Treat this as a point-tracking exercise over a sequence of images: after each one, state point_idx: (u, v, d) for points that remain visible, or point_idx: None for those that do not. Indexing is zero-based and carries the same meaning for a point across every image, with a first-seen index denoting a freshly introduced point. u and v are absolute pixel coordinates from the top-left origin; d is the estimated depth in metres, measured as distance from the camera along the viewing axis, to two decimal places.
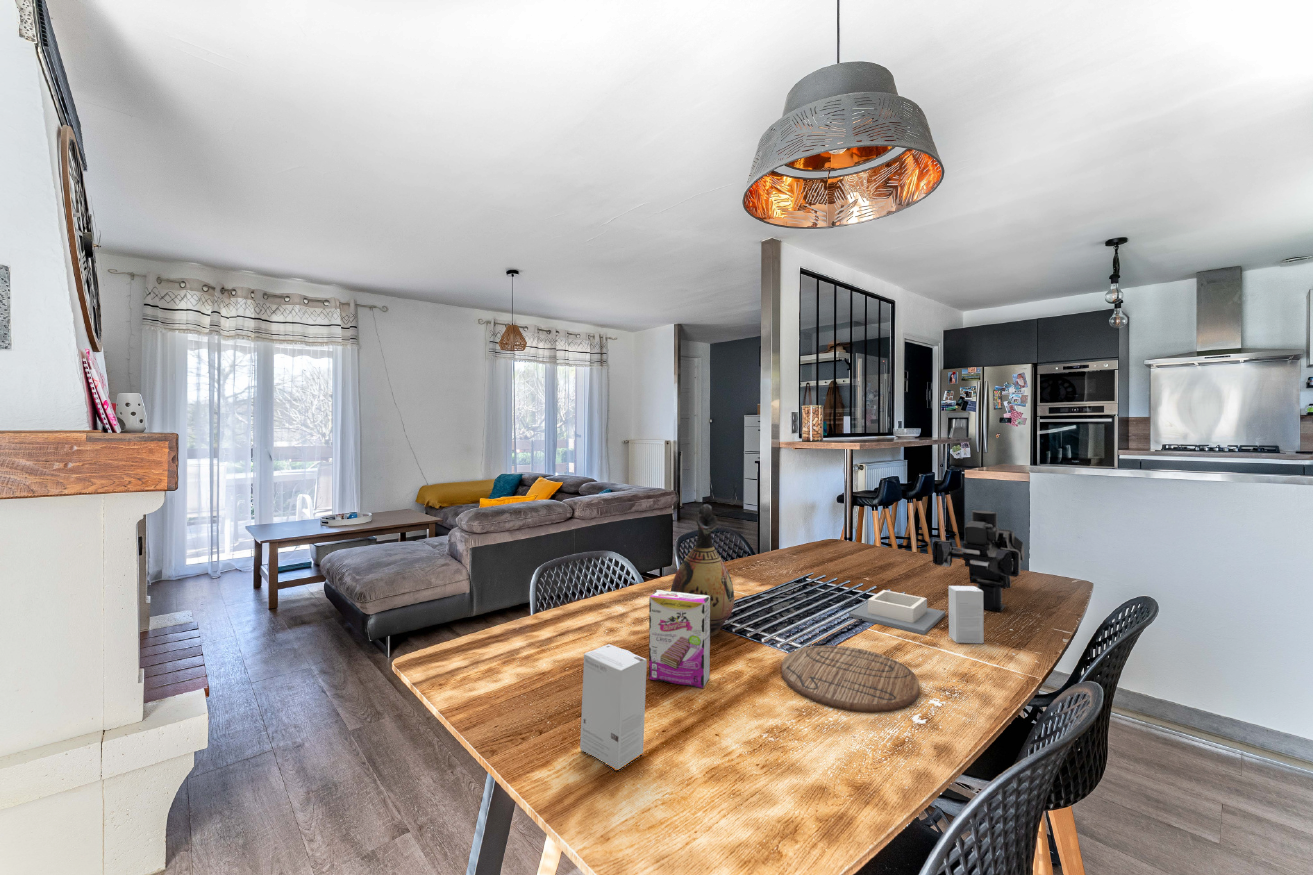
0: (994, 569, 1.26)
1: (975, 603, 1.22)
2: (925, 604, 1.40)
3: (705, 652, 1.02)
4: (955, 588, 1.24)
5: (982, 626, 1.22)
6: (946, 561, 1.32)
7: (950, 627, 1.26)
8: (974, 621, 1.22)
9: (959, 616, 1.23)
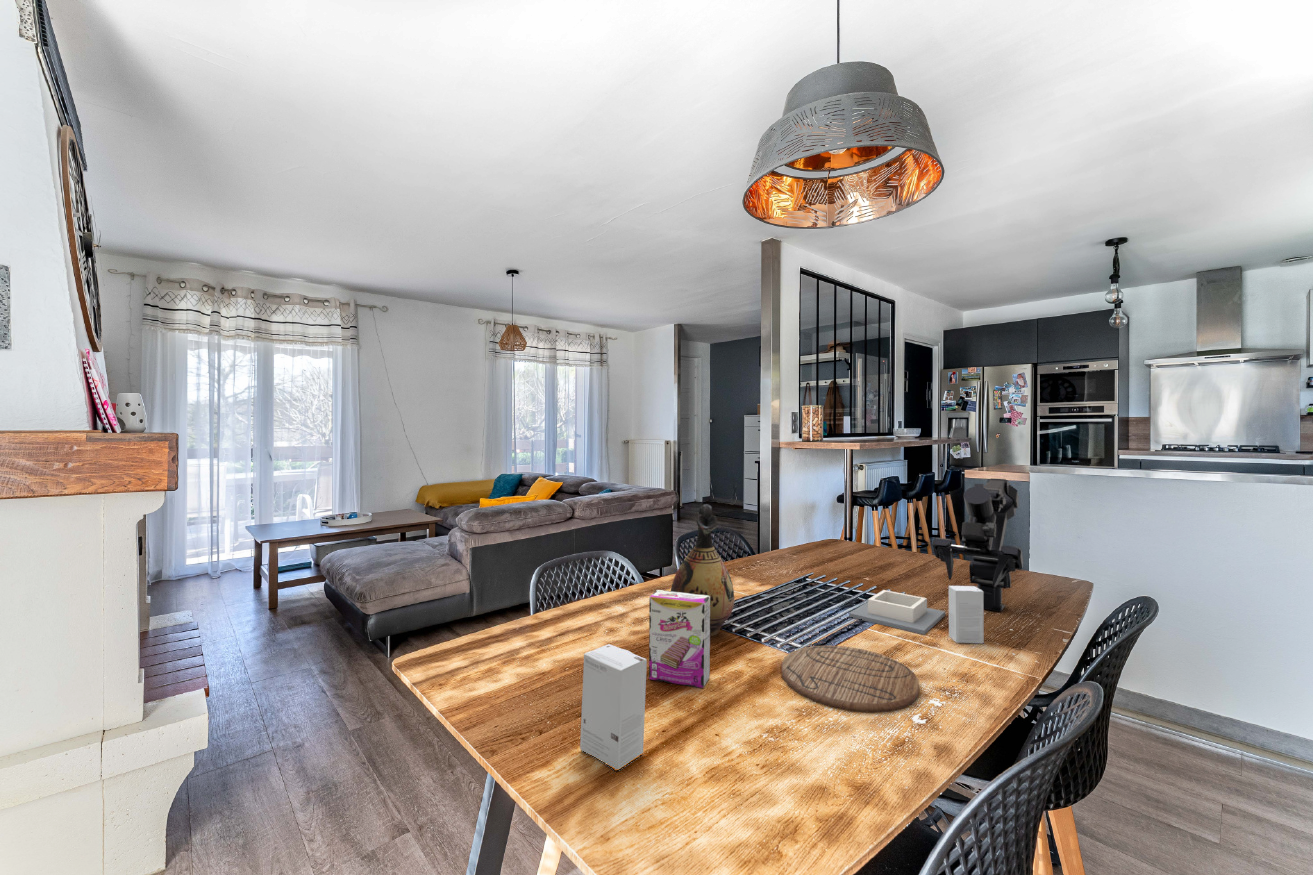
0: (999, 581, 1.27)
1: (975, 603, 1.22)
2: (925, 604, 1.40)
3: (705, 652, 1.02)
4: (955, 588, 1.24)
5: (982, 626, 1.22)
6: (951, 577, 1.32)
7: (950, 627, 1.26)
8: (974, 621, 1.22)
9: (959, 616, 1.23)
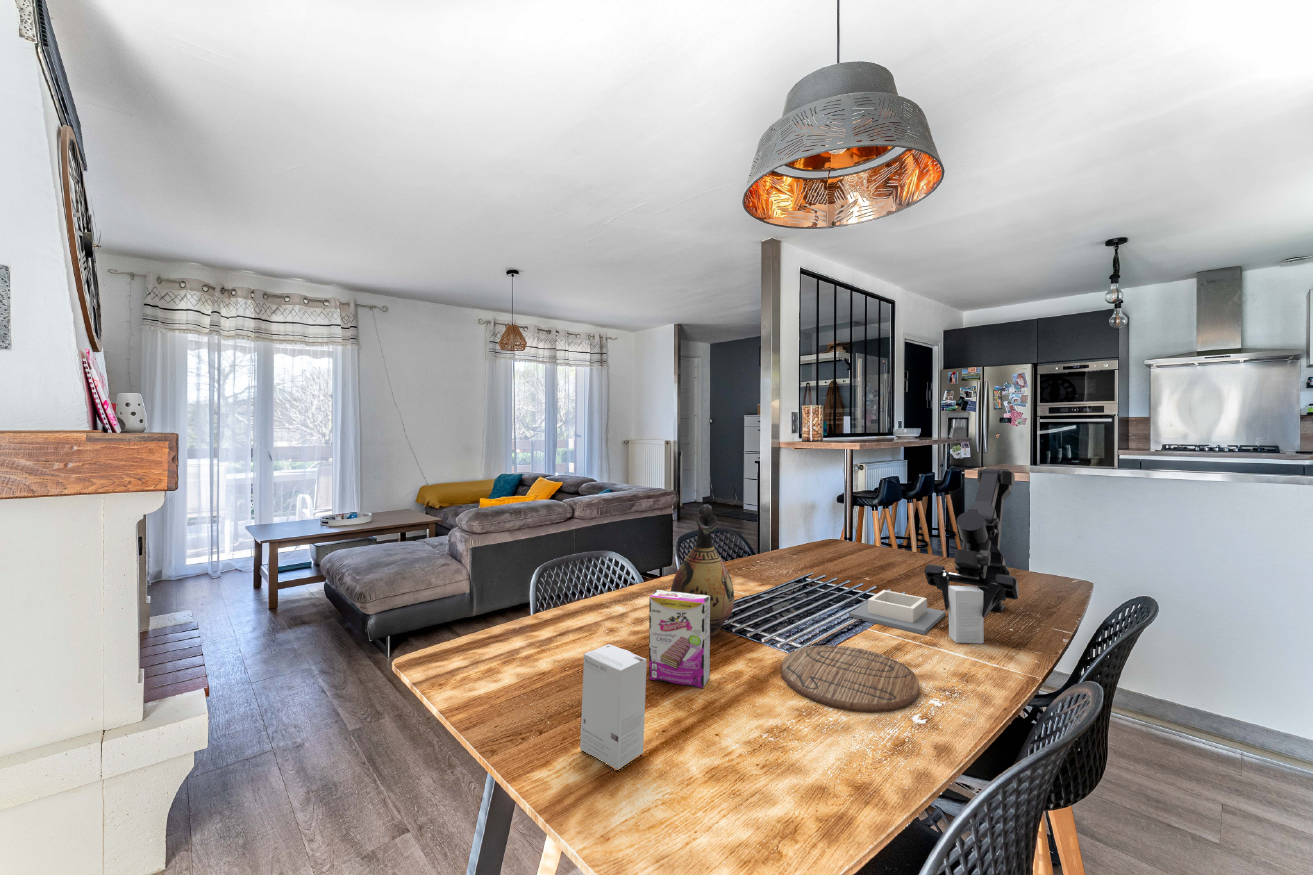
0: (989, 611, 1.22)
1: (975, 603, 1.22)
2: (925, 604, 1.40)
3: (705, 652, 1.02)
4: (955, 588, 1.24)
5: (982, 626, 1.22)
6: (947, 607, 1.26)
7: (950, 627, 1.26)
8: (974, 621, 1.22)
9: (959, 616, 1.23)
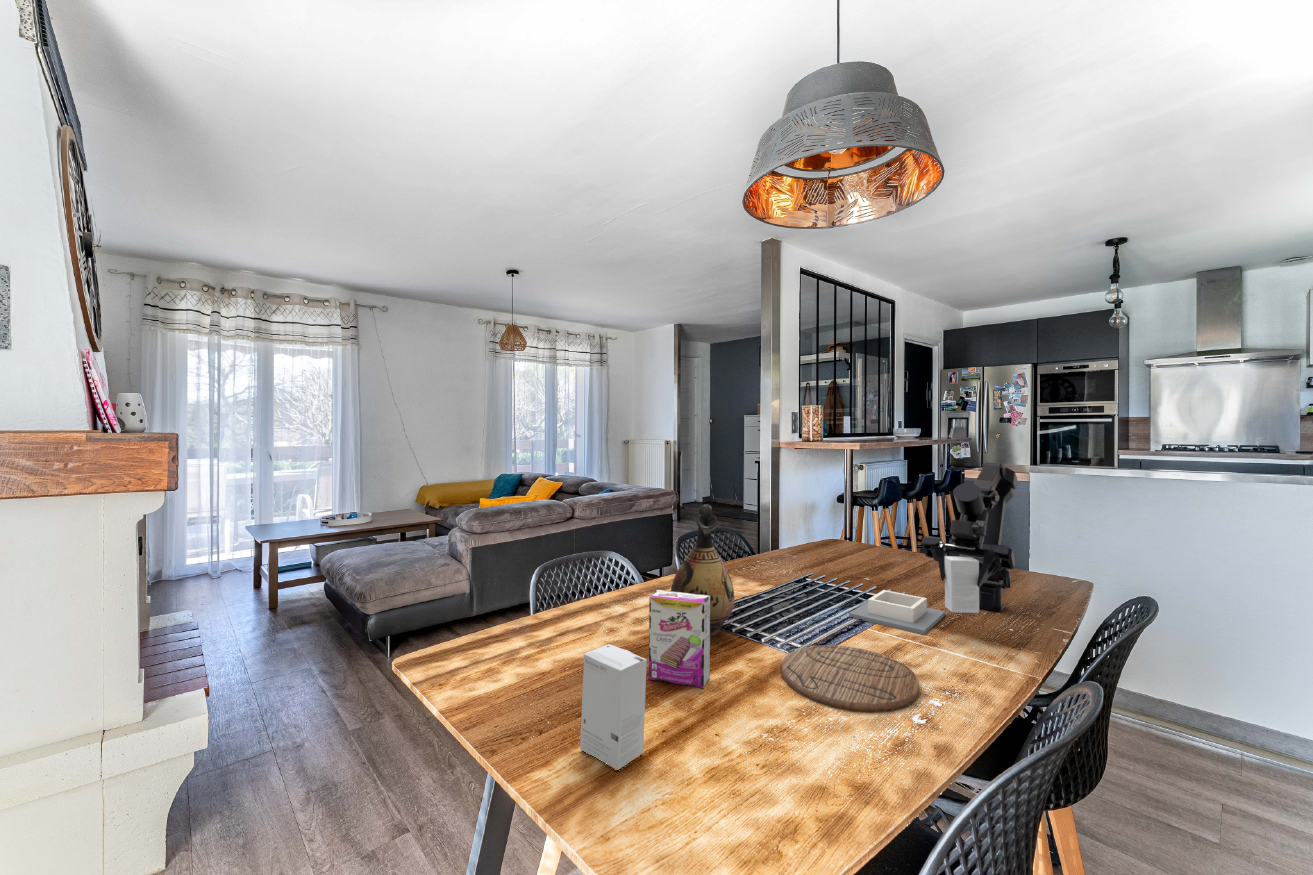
0: (984, 580, 1.23)
1: (971, 573, 1.23)
2: (925, 604, 1.40)
3: (705, 652, 1.02)
4: (951, 558, 1.25)
5: (977, 596, 1.23)
6: (943, 577, 1.27)
7: (946, 598, 1.27)
8: (970, 590, 1.23)
9: (955, 585, 1.23)
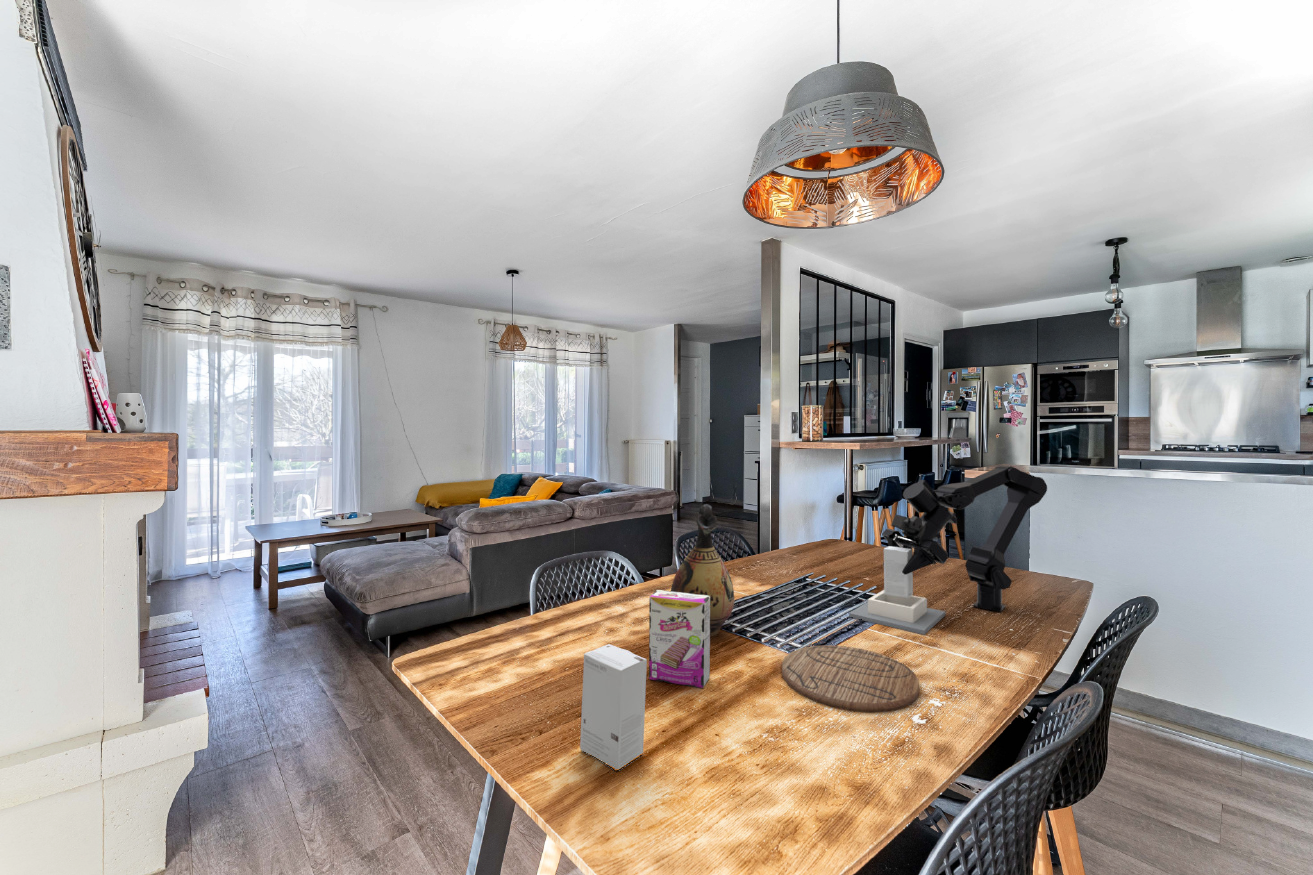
0: (912, 570, 1.36)
1: (900, 562, 1.38)
2: (925, 604, 1.40)
3: (705, 652, 1.02)
4: (888, 547, 1.42)
5: (906, 583, 1.37)
6: None
7: None
8: (900, 577, 1.38)
9: (886, 571, 1.40)
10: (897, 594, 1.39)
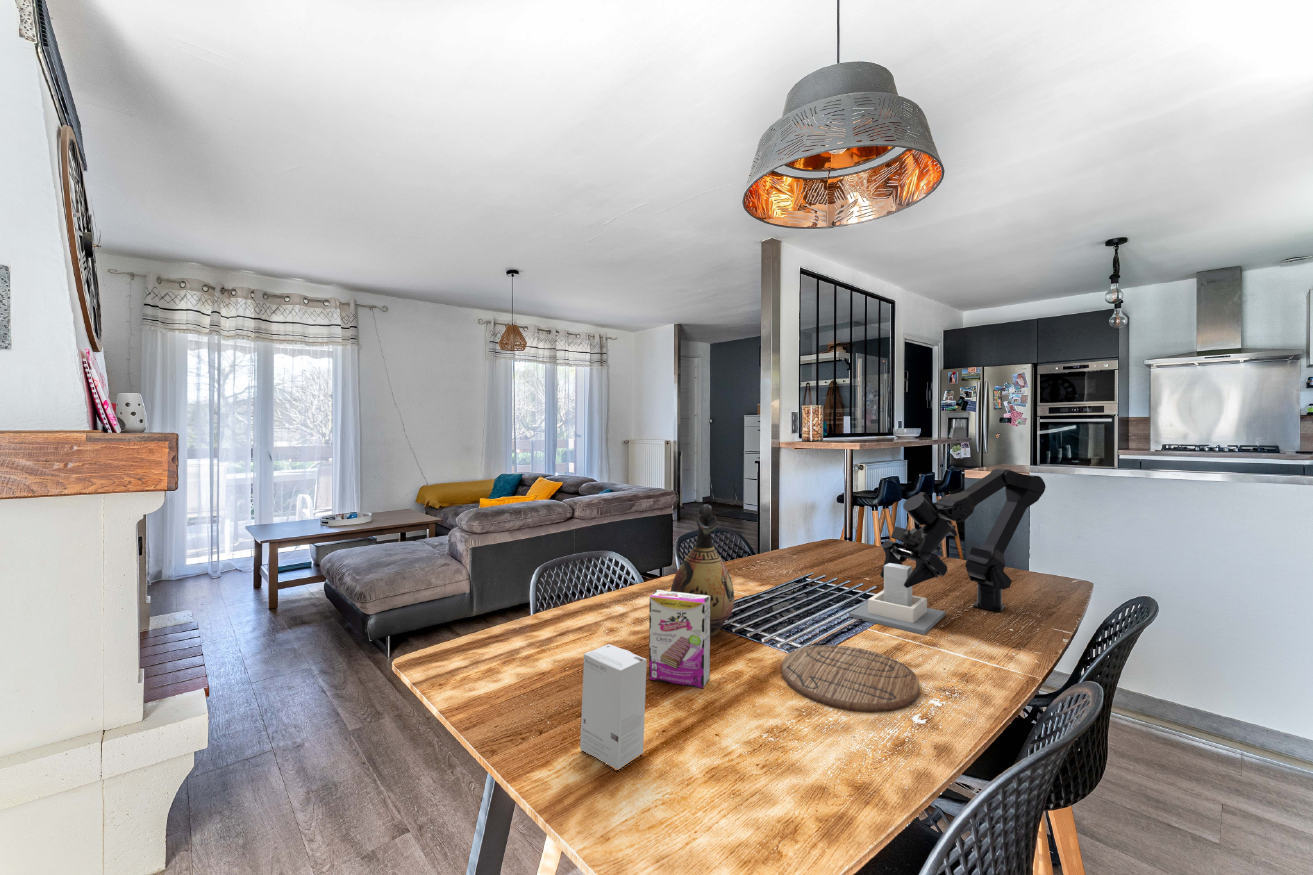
0: (914, 583, 1.35)
1: (900, 579, 1.38)
2: (925, 604, 1.40)
3: (705, 652, 1.02)
4: (888, 564, 1.42)
5: (906, 600, 1.37)
6: None
7: None
8: (899, 594, 1.38)
9: (886, 588, 1.41)
10: None
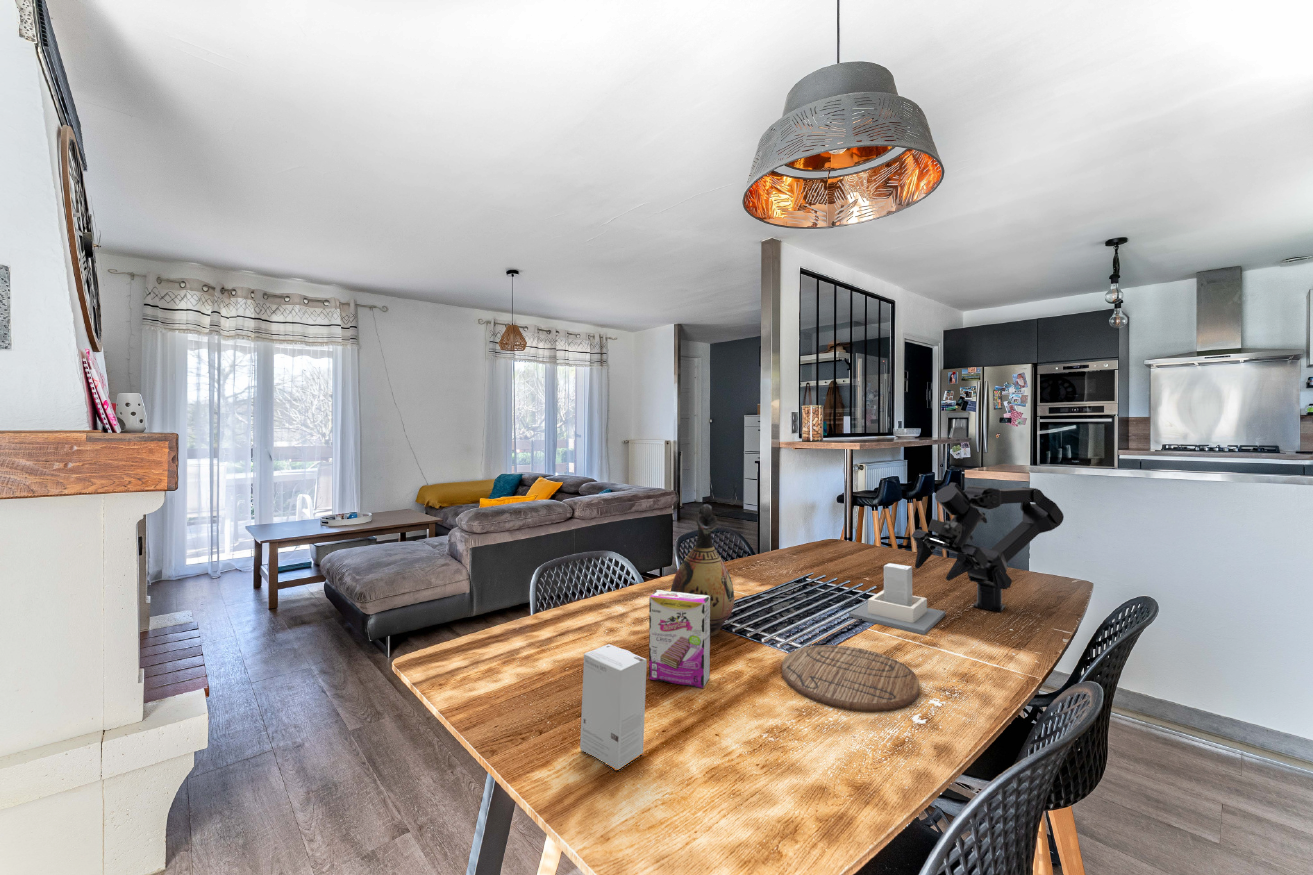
0: (955, 576, 1.37)
1: (900, 579, 1.38)
2: (925, 604, 1.40)
3: (705, 652, 1.02)
4: (887, 564, 1.42)
5: (906, 600, 1.37)
6: (918, 566, 1.45)
7: None
8: (899, 595, 1.38)
9: (886, 588, 1.40)
10: None
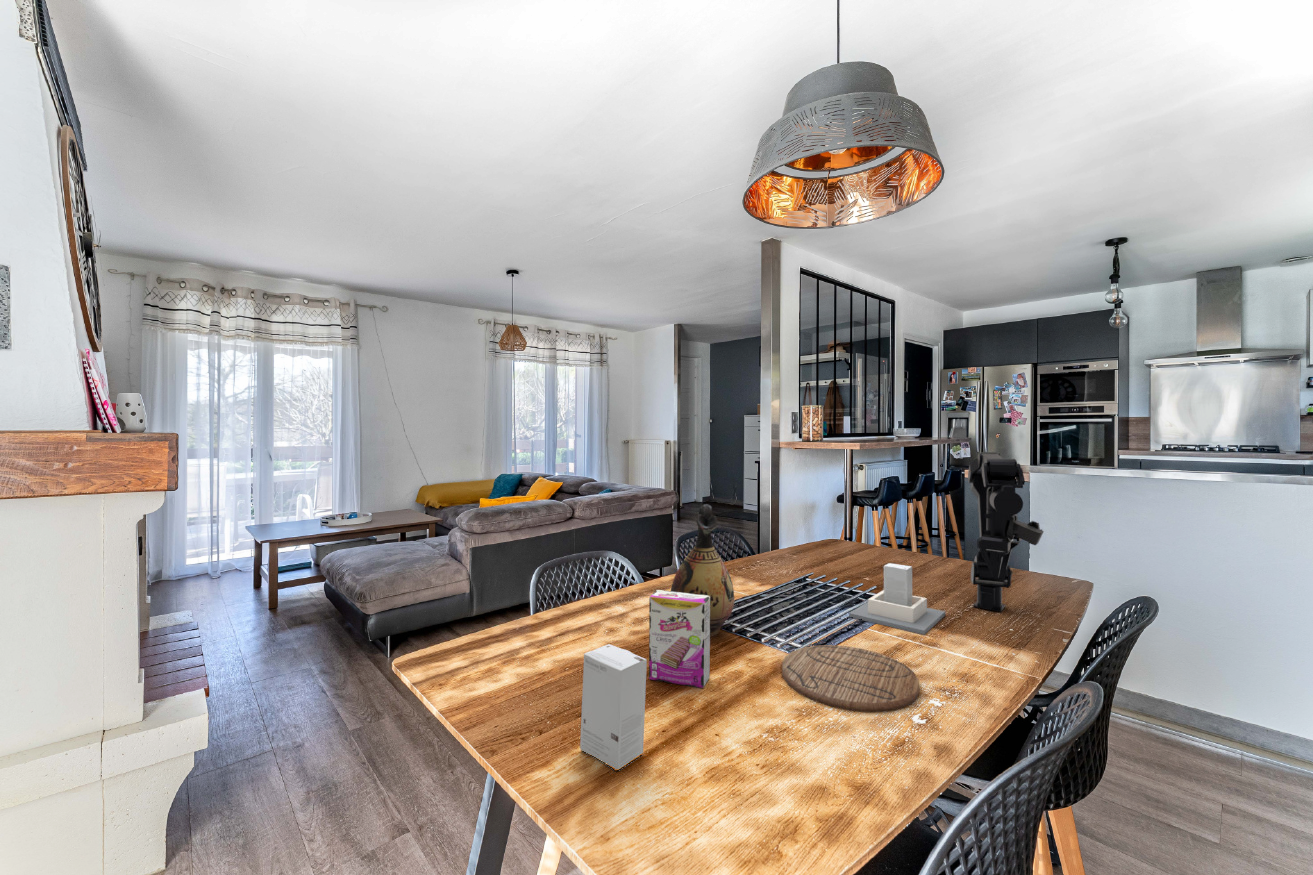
0: None
1: (900, 579, 1.38)
2: (925, 604, 1.40)
3: (705, 652, 1.02)
4: (887, 564, 1.42)
5: (906, 600, 1.37)
6: None
7: None
8: (899, 595, 1.38)
9: (886, 588, 1.40)
10: None
